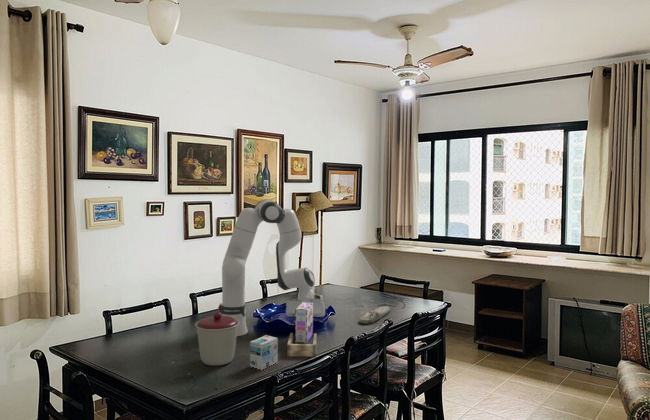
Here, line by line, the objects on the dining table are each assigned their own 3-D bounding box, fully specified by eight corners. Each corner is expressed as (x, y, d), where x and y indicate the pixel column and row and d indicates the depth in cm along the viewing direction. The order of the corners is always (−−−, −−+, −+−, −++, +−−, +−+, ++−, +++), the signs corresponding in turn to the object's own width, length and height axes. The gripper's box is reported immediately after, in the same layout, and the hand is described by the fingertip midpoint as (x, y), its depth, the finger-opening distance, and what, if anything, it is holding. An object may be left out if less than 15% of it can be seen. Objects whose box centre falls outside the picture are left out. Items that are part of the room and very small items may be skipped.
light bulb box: (261, 371, 191) (262, 344, 191) (249, 367, 195) (249, 341, 194) (278, 362, 200) (278, 337, 200) (265, 359, 204) (265, 334, 203)
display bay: (287, 356, 208) (287, 344, 207) (290, 343, 224) (290, 332, 224) (315, 356, 208) (315, 345, 207) (316, 343, 224) (316, 333, 224)
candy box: (306, 343, 224) (307, 309, 223) (294, 342, 225) (294, 308, 224) (313, 334, 237) (313, 302, 237) (301, 334, 239) (302, 301, 238)
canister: (198, 372, 189) (198, 320, 187) (192, 357, 205) (192, 308, 204) (243, 366, 196) (243, 315, 195) (234, 351, 212) (234, 305, 211)
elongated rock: (394, 313, 284) (379, 312, 289) (394, 304, 284) (379, 303, 289) (372, 325, 253) (355, 323, 258) (371, 315, 253) (354, 314, 258)
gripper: (286, 295, 247) (284, 319, 238) (325, 296, 247) (325, 320, 238) (286, 302, 252) (284, 325, 243) (325, 302, 252) (324, 326, 243)
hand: (305, 323), depth 240 cm, fingers closed
